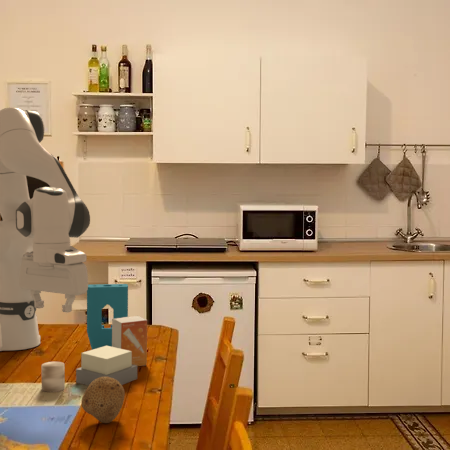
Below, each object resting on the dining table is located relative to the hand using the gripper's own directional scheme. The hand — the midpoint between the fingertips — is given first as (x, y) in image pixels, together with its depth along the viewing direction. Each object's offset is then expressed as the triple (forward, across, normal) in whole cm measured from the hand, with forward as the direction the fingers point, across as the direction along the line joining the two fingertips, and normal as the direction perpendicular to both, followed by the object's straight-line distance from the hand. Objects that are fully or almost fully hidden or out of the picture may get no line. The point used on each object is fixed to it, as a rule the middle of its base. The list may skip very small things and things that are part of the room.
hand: (53, 309), depth 156 cm
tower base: (+20, +7, +12) cm, 25 cm away
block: (+20, -12, +33) cm, 40 cm away
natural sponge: (+20, +25, -10) cm, 33 cm away
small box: (+20, +3, +26) cm, 33 cm away
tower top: (+16, +7, +12) cm, 21 cm away
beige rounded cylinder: (+20, 0, 0) cm, 20 cm away
